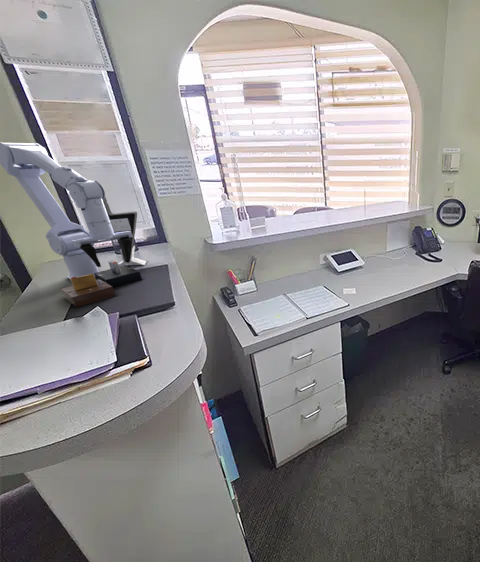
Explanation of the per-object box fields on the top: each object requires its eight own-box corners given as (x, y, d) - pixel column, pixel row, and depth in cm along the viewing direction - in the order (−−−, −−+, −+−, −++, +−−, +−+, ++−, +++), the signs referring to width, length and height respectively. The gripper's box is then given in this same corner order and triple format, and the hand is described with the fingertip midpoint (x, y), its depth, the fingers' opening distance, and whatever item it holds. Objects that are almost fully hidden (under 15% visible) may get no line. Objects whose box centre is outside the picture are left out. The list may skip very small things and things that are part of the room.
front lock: (96, 284, 92) (91, 272, 91) (97, 284, 92) (93, 273, 90) (74, 289, 88) (69, 277, 87) (75, 290, 88) (70, 278, 86)
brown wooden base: (64, 298, 91) (59, 288, 90) (102, 287, 98) (99, 278, 97) (75, 307, 84) (71, 297, 83) (116, 295, 91) (112, 285, 90)
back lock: (111, 271, 103) (107, 260, 102) (115, 270, 104) (112, 259, 103) (117, 273, 101) (113, 262, 99) (121, 272, 102) (117, 261, 100)
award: (101, 271, 113) (69, 186, 102) (105, 267, 118) (74, 185, 107) (150, 264, 120) (124, 183, 109) (152, 260, 124) (128, 182, 113)
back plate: (96, 281, 103) (93, 272, 102) (128, 273, 110) (125, 264, 109) (109, 288, 97) (105, 279, 96) (142, 279, 104) (139, 270, 103)
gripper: (71, 227, 89) (89, 271, 94) (130, 218, 100) (143, 258, 105) (64, 225, 92) (82, 267, 97) (122, 217, 103) (135, 256, 108)
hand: (113, 263), depth 101 cm, fingers open, 7 cm apart
